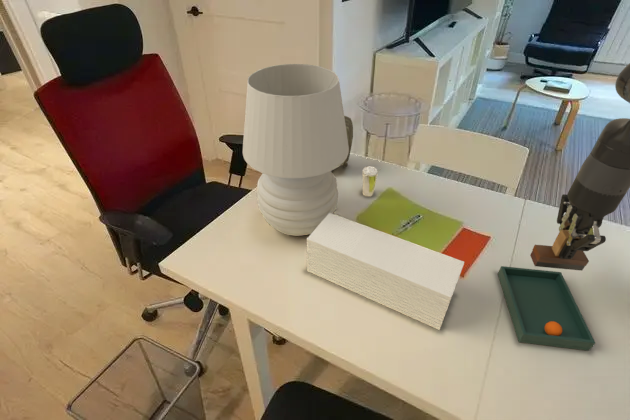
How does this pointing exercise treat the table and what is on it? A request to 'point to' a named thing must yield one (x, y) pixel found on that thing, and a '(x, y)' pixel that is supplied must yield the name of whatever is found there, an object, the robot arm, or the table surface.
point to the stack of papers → (384, 268)
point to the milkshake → (369, 180)
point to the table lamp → (295, 143)
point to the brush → (550, 255)
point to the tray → (543, 308)
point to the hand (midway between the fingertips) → (561, 252)
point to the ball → (553, 328)
